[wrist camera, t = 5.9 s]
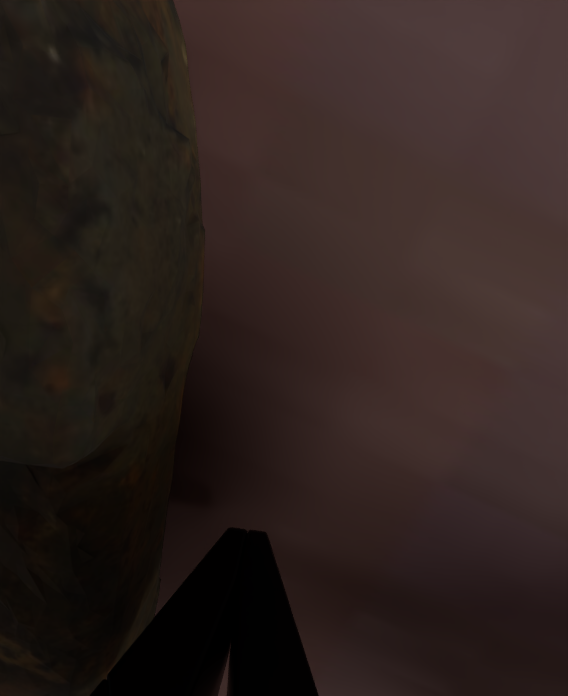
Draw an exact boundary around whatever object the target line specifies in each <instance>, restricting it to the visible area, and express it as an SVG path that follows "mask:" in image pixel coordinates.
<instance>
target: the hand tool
mask: <svg viewBox="0 0 568 696" xmlns="http://www.w3.org/2000/svg"><path fill="white" fill-rule="evenodd" d="M204 241H205V229H204V227H203V225H202V209H201V183H200V172H199V162H198V149H197V136H196V123H195V115H194V109H193V102H192V96H191V90H190V83H189V74H188V64H187V53H186V45H185V41H184V37H183V33H182V29H181V25H180V21H179V17H178V14H177V11H176V8H175V5H174V2H173V0H0V696H89V695H90V694H91V693H92V692H93V691H94V689H95V688H96V687H97V686H98V685H99V683H100V682H101V681H102V680H103V679H106V680H107V674H108V673H109V672H110V670H111V669H112V668H113V667H114V666H115V664H116V663H117V662H118V661H119V660H120V658H121V657H122V656H123V655H124V653H125V652H126V651H127V650H128V649H129V647H130V646H131V645H132V644H133V643H134V641H135V640H136V639H137V638H138V637H139V635H140V634H141V633H142V632H143V631H144V629H145V628H146V627H147V626H148V624H149V623H150V622H151V621H152V620H153V618H154V615H155V610H156V605H157V600H158V595H159V588H160V580H161V579H160V578H159V573H160V564H161V554H162V547H163V539H164V531H165V523H166V515H167V507H168V499H169V494H170V489H171V484H172V475H173V467H174V457H175V444H176V439H177V434H178V429H179V424H180V416H181V408H182V399H183V391H184V386H185V381H186V376H187V371H188V368H189V364H190V360H191V357H192V353H193V350H194V346H195V343H196V341H197V339H198V337H199V331H200V323H201V313H202V299H203V274H204Z"/></svg>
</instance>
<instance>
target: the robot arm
mask: <svg viewBox="0 0 568 696" xmlns="http://www.w3.org/2000/svg"><path fill="white" fill-rule="evenodd" d="M230 644H231V648H230ZM229 650H230V658H229V670H228V685H227V696H319V695H318V692H317V689H316V686H315V683H314V680H313V676H312V673H311V670H310V667H309V664H308V661H307V658H306V654H305V651H304V648H303V645H302V642H301V639H300V636H299V632H298V629H297V626H296V623H295V620H294V617H293V614H292V611H291V607H290V604H289V601H288V598H287V595H286V592H285V589H284V585H283V582H282V579H281V576H280V573H279V570H278V567H277V563H276V560H275V557H274V554H273V551H272V548H271V545H270V541H269V538H268V535H267V534H266V533H265V532H262V531H255V530H249V531H248V533H247V531H246V530H245V529H240V528H233V527H230V528H228V529H227V530H226V531H225V533H224V534H223V535H222V536H221V538H220V539H219V540H218V541H217V542H216V544H215V545H214V546H213V547H212V548H211V550H210V551H209V552H208V553H207V554H206V556H205V557H204V558H203V559H202V560H201V562H200V563H199V564H198V565H197V567H196V568H195V569H194V570H193V571H192V573H191V574H190V575H189V576H188V577H187V579H186V580H185V581H184V582H183V583H182V585H181V586H180V587H179V588H178V589H177V591H176V592H175V593H174V594H173V596H172V597H171V598H170V599H169V600H168V602H167V603H166V604H165V605H164V606H163V608H162V609H161V610H160V611H159V612H158V614H157V615H156V616H155V617H154V618H153V620H152V621H151V622H150V623H149V624H148V626H147V627H146V628H145V629H144V631H143V632H142V633H141V634H140V635H139V637H138V638H137V639H136V640H135V641H134V643H133V644H132V645H131V646H130V647H129V649H128V650H127V651H126V652H125V653H124V655H123V656H122V657H121V658H120V660H119V661H118V662H117V663H116V664H115V666H114V667H113V668H112V669H111V670H110V672H109V673H108V674H107V680H106V679H103V680H102V681H101V682H100V683H99V685H98V686H97V687H96V688H95V689H94V691H93V692H92V693H91V694H90V695H89V696H218V693H219V689H220V685H221V681H222V678H223V674H224V670H225V667H226V662H227V658H228V654H229Z"/></svg>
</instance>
